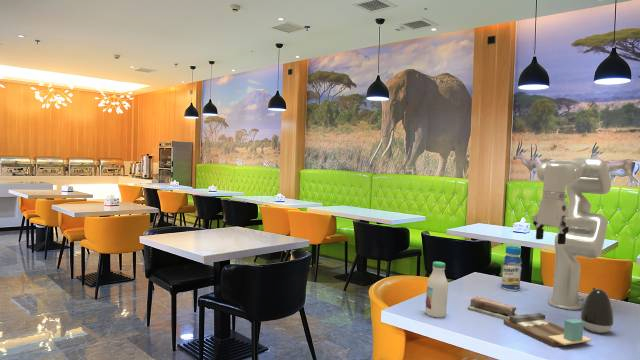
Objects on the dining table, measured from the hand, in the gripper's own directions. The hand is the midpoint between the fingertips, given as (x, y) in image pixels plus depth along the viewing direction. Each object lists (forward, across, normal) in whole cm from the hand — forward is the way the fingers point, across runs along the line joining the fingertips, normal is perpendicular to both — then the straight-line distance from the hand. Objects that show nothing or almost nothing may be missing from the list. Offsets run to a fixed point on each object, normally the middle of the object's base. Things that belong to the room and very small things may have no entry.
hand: (550, 241), depth 173 cm
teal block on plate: (+29, -20, +11) cm, 37 cm away
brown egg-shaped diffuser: (+31, -13, -11) cm, 35 cm away
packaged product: (+31, +12, +13) cm, 36 cm away
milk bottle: (+31, +16, +38) cm, 51 cm away
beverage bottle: (+31, +38, -22) cm, 53 cm away
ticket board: (+30, -10, +11) cm, 34 cm away
